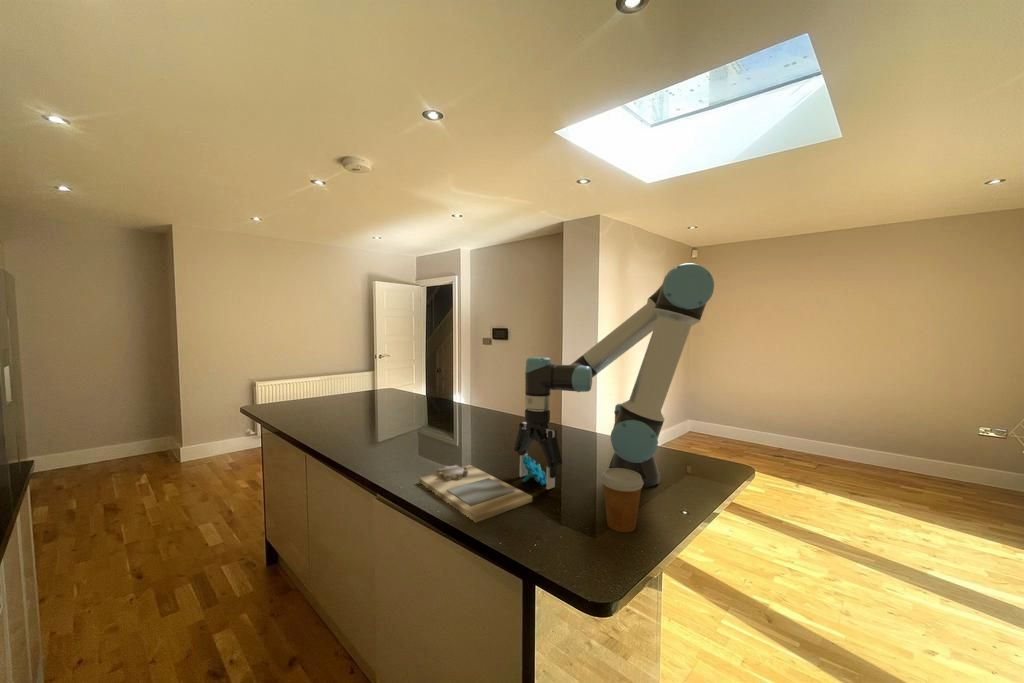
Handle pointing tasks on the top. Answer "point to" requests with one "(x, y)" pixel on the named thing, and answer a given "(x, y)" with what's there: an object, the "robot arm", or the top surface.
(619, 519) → the disposable coffee cup
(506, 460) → the top surface
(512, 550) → the top surface
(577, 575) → the top surface
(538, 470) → the gear
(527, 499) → the carrier board
